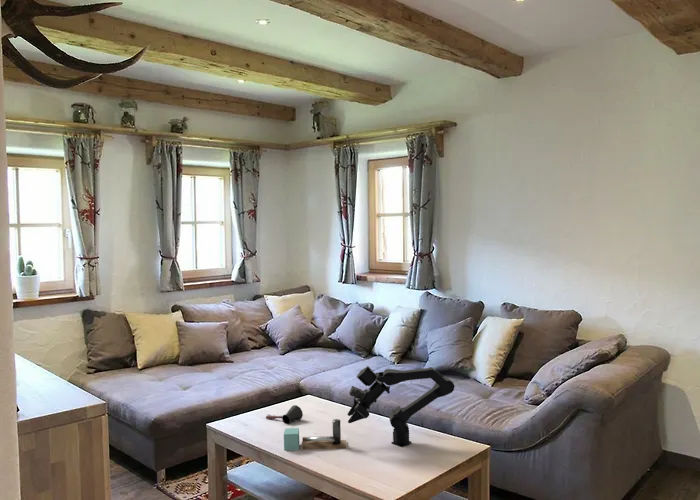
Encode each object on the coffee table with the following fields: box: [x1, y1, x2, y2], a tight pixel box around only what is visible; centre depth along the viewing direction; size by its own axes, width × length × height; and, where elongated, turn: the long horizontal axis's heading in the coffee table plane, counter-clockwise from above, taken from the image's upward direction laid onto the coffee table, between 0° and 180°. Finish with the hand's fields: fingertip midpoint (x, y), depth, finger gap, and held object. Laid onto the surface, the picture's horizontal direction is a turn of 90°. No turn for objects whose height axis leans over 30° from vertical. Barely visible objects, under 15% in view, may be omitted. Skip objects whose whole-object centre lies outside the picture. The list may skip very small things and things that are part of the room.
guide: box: [301, 435, 347, 451], centre depth 250 cm, size 19×7×3 cm, turn 91°
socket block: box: [283, 427, 300, 451], centre depth 249 cm, size 6×7×7 cm
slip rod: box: [306, 418, 342, 444], centre depth 249 cm, size 15×3×10 cm, turn 91°
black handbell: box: [265, 405, 304, 425], centre depth 285 cm, size 8×18×8 cm
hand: (348, 418), depth 249 cm, fingers open, 9 cm apart
